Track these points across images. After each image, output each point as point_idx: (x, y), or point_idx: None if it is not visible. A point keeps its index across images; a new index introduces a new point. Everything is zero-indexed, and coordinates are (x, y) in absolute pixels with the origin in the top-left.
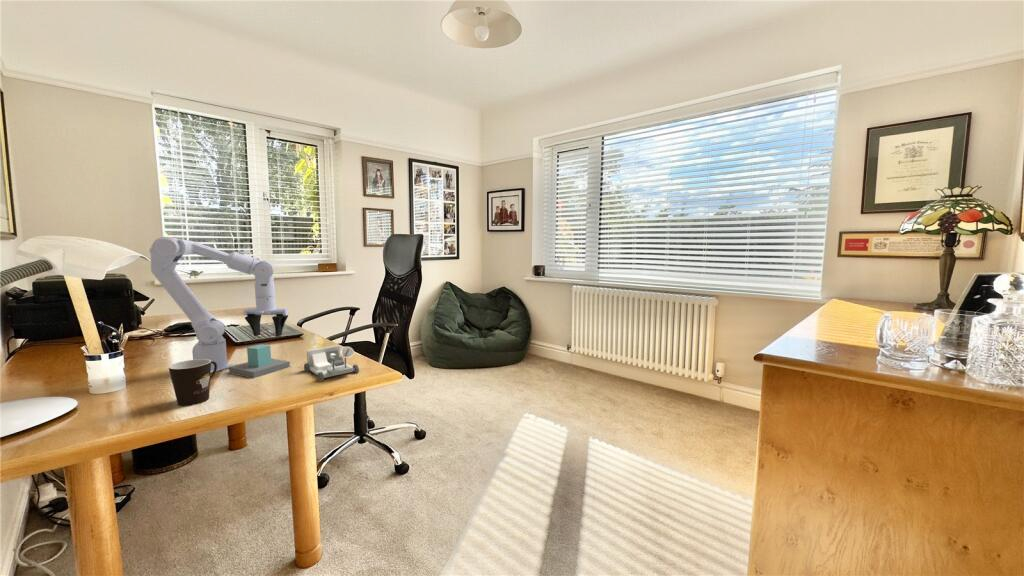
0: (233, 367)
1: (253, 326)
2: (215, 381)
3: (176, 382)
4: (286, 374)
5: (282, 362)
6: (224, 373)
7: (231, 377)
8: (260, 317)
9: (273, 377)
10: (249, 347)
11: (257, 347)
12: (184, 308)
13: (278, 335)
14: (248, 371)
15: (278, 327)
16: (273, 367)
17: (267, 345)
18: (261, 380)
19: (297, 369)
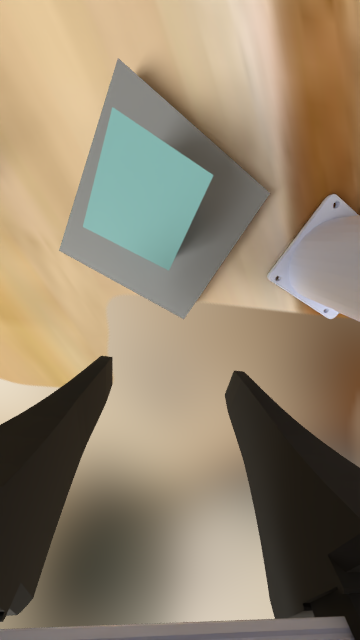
0: (249, 180)
1: (272, 420)
2: (276, 51)
3: None
4: (13, 132)
5: (80, 240)
6: (274, 193)
7: (229, 120)
8: (265, 553)
9: (41, 81)
10: (196, 174)
11: (138, 167)
12: None
13: (96, 361)
14: (156, 94)
15: (48, 398)
16: (84, 178)
17: (101, 227)
18: (66, 23)
19: (19, 211)
